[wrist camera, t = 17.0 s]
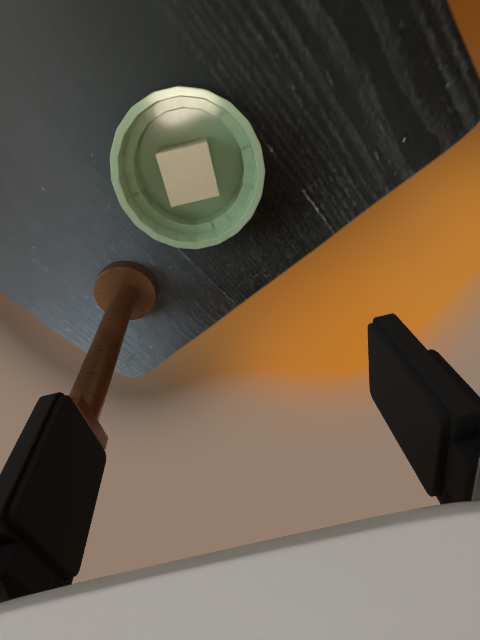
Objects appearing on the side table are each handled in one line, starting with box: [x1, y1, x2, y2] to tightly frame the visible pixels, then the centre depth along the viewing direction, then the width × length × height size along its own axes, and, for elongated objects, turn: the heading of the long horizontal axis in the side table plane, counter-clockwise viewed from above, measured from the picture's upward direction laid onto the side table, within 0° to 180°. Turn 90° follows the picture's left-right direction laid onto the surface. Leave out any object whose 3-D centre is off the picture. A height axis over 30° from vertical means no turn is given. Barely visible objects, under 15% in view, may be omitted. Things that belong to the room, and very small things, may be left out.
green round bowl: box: [110, 86, 265, 249], centre depth 30 cm, size 12×12×5 cm
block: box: [156, 137, 220, 207], centre depth 30 cm, size 4×4×4 cm
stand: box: [69, 261, 157, 450], centre depth 30 cm, size 6×6×19 cm
